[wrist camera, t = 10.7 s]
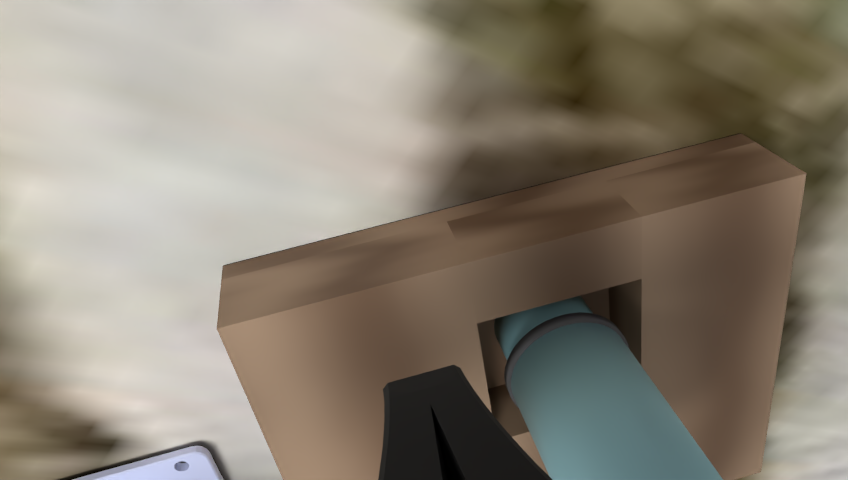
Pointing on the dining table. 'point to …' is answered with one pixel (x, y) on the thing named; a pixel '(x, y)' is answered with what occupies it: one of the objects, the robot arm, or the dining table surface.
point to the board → (529, 303)
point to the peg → (592, 399)
